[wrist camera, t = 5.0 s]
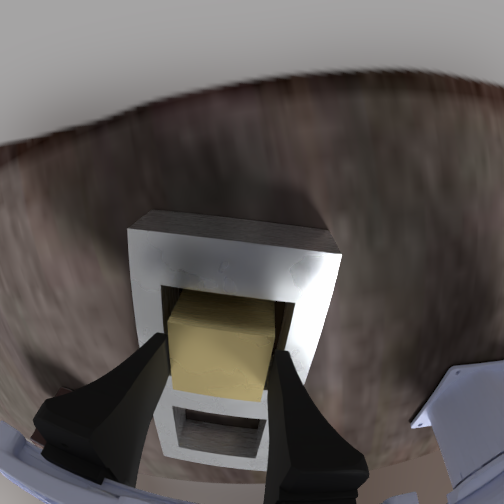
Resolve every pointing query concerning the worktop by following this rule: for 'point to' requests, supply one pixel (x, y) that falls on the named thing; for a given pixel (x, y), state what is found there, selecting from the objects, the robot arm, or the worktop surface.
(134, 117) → the worktop surface
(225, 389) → the pale yellow wooden cube
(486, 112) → the worktop surface
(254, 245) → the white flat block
